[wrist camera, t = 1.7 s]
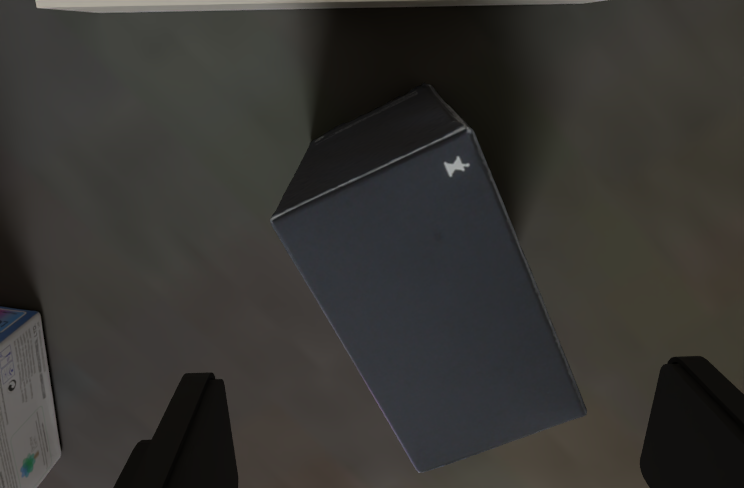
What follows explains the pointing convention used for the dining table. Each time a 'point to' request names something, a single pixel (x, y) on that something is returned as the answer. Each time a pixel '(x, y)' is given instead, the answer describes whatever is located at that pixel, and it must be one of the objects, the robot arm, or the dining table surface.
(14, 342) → the ink cartridge box
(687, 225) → the dining table surface
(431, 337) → the small box
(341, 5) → the tray
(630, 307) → the dining table surface
